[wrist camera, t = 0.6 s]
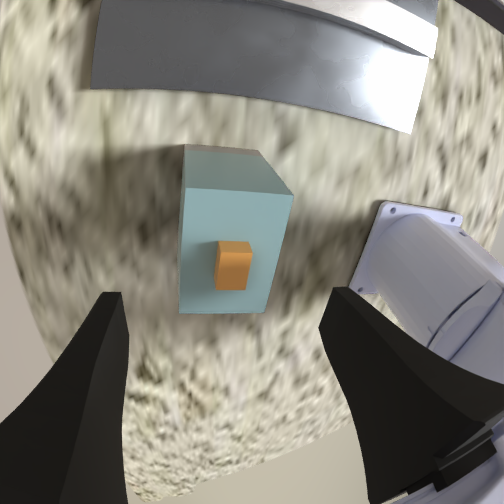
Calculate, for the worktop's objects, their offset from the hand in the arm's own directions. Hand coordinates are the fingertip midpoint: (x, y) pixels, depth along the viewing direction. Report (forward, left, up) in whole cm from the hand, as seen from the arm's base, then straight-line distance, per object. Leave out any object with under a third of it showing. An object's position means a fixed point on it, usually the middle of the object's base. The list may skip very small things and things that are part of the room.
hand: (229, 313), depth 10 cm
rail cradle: (-2, -12, -9) cm, 15 cm away
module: (0, 0, -9) cm, 9 cm away
